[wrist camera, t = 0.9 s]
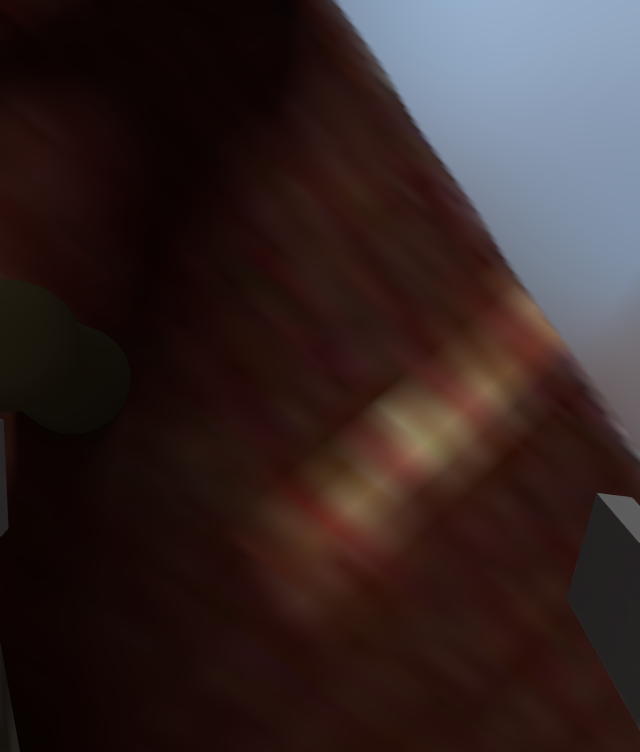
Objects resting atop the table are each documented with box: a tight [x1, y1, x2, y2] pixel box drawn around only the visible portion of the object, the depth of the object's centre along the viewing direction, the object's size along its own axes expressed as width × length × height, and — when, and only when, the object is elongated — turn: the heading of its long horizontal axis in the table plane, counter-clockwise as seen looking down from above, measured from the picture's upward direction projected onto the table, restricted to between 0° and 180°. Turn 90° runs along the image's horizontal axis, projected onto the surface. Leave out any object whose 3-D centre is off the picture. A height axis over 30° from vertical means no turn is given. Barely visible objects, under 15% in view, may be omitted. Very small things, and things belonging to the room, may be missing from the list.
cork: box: [0, 280, 131, 434], centre depth 27 cm, size 6×6×11 cm
